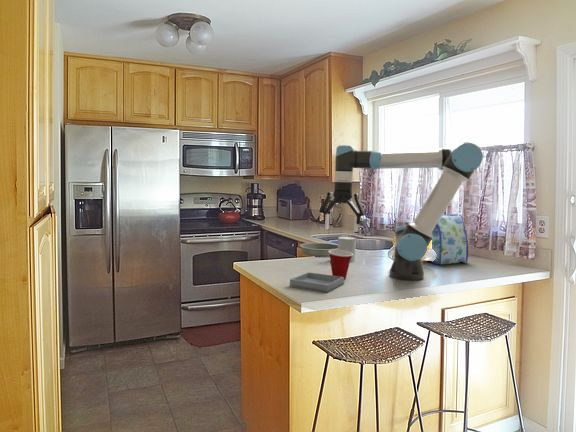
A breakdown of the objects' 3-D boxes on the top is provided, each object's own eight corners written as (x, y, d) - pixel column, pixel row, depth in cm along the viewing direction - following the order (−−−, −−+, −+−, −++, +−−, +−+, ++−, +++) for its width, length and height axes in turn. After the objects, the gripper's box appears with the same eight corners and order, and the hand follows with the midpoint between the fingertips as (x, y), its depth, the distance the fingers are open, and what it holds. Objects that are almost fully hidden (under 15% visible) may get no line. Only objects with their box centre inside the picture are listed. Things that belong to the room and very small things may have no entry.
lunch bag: (444, 258, 256) (447, 212, 254) (469, 263, 242) (472, 215, 240) (417, 260, 245) (419, 213, 243) (441, 266, 231) (444, 216, 228)
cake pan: (350, 254, 261) (350, 246, 260) (322, 259, 244) (322, 250, 243) (318, 248, 278) (319, 241, 278) (290, 252, 261) (290, 244, 261)
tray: (343, 284, 188) (343, 277, 187) (327, 292, 173) (327, 285, 173) (308, 278, 195) (308, 272, 195) (289, 286, 181) (290, 279, 181)
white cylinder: (342, 258, 246) (343, 236, 245) (358, 260, 241) (359, 238, 240) (333, 260, 239) (334, 237, 237) (349, 263, 233) (350, 239, 232)
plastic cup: (344, 282, 190) (345, 254, 189) (322, 278, 197) (323, 251, 196) (356, 278, 199) (357, 251, 198) (335, 274, 205) (336, 248, 204)
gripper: (374, 182, 191) (371, 231, 193) (320, 180, 203) (318, 226, 205) (368, 182, 184) (365, 233, 186) (313, 180, 196) (311, 228, 198)
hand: (341, 230), depth 196 cm, fingers open, 13 cm apart
